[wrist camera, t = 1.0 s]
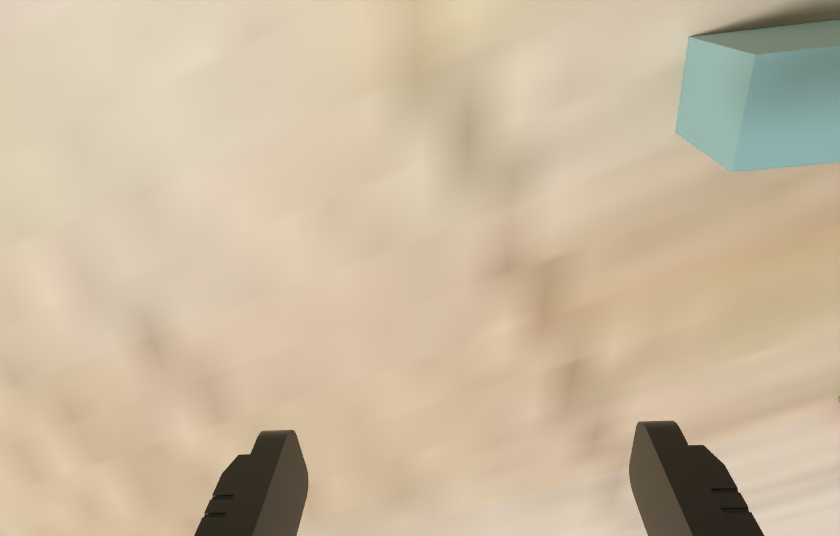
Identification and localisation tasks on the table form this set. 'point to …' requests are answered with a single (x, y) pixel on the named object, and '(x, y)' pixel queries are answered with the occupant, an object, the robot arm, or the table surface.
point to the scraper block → (764, 96)
